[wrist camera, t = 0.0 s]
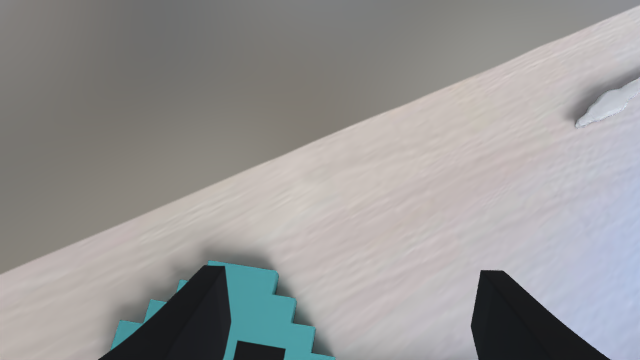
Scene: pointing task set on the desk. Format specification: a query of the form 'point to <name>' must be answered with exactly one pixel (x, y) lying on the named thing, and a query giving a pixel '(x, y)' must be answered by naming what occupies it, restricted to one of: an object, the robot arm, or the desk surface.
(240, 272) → the alien figure
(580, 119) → the grey tapered spike
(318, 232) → the desk surface
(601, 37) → the desk surface
